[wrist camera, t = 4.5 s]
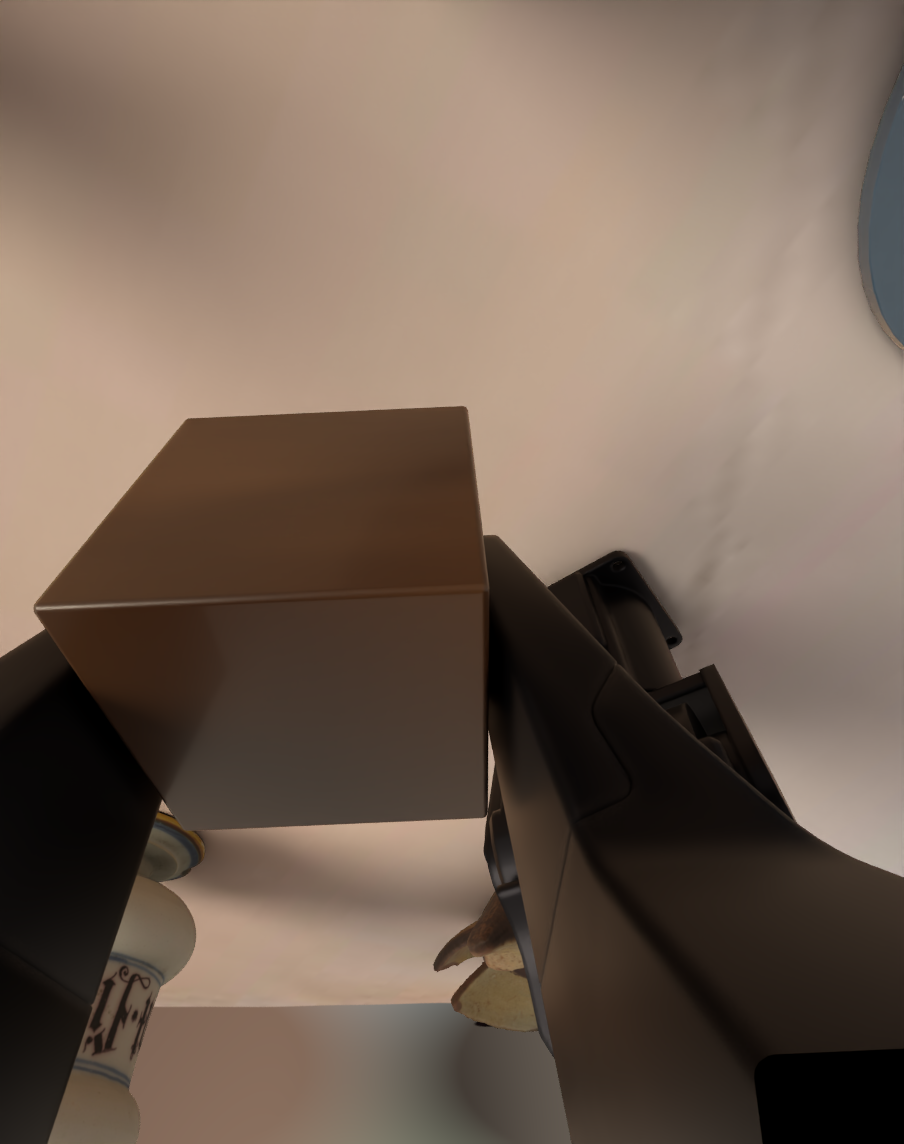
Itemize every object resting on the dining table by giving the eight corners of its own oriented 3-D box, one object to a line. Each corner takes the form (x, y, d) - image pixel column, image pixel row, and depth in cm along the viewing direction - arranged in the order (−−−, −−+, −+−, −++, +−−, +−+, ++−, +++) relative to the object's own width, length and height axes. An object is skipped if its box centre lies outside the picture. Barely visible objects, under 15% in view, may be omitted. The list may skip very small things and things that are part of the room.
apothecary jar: (190, 894, 43) (70, 1270, 29) (15, 856, 39) (-228, 1276, 24) (248, 825, 37) (130, 1263, 23) (47, 771, 32) (-253, 1268, 18)
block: (468, 404, 8) (490, 587, 5) (471, 611, 11) (488, 819, 8) (185, 416, 8) (26, 608, 5) (256, 621, 11) (182, 833, 8)
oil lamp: (454, 974, 55) (456, 1078, 49) (400, 822, 37) (393, 958, 31) (684, 959, 54) (715, 1063, 48) (749, 793, 36) (813, 929, 30)
